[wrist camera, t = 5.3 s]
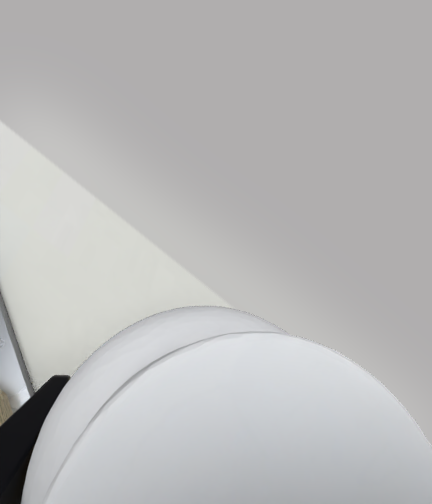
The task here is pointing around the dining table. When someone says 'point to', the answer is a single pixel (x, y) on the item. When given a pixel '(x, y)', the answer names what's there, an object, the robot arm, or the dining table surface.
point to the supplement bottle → (225, 422)
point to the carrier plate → (11, 370)
